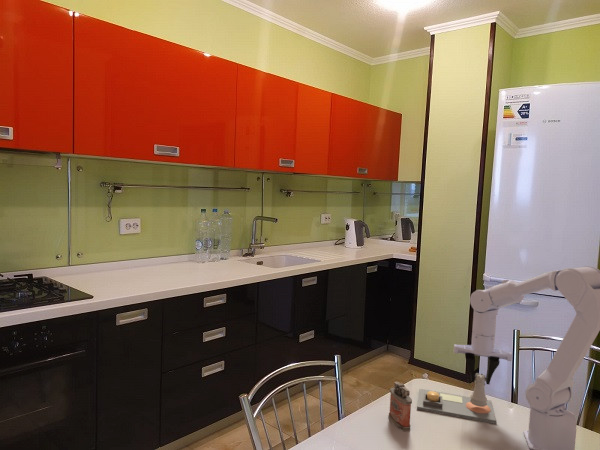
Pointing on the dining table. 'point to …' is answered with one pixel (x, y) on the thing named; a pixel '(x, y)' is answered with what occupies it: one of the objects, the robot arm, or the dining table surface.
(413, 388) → the dining table surface
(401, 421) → the lighter
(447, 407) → the grey board
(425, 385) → the dining table surface
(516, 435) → the dining table surface
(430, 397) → the button
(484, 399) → the rook chess piece
